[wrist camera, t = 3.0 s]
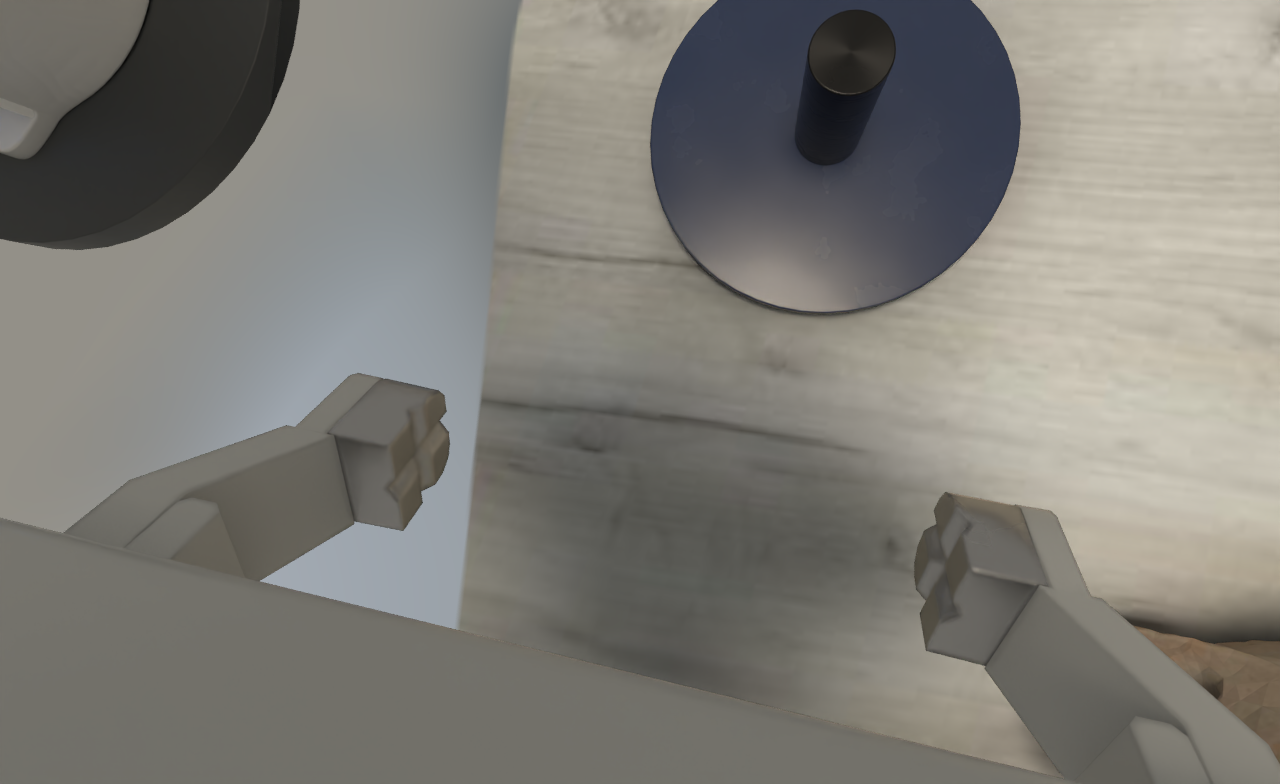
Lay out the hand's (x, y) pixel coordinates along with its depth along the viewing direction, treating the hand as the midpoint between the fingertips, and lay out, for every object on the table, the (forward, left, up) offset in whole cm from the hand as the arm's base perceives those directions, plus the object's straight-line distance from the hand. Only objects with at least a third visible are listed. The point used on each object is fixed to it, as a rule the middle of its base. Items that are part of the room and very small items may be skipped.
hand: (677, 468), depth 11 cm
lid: (+3, +12, -18) cm, 22 cm away
